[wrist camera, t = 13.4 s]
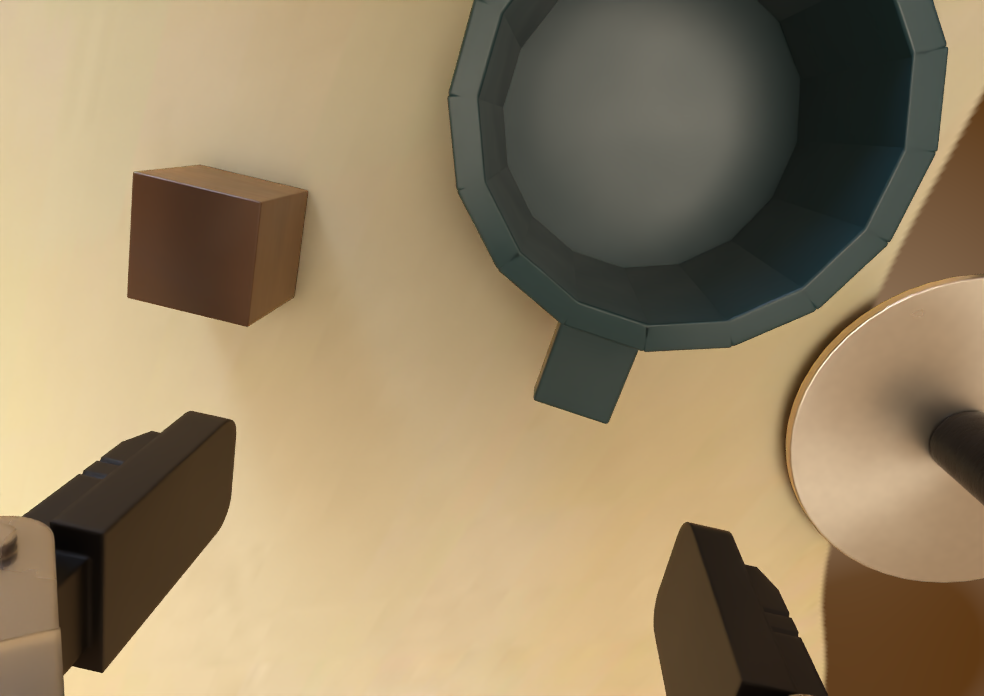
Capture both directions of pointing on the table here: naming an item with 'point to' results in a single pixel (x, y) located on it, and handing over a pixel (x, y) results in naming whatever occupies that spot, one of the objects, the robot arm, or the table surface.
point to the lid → (899, 435)
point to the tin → (687, 164)
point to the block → (214, 242)
